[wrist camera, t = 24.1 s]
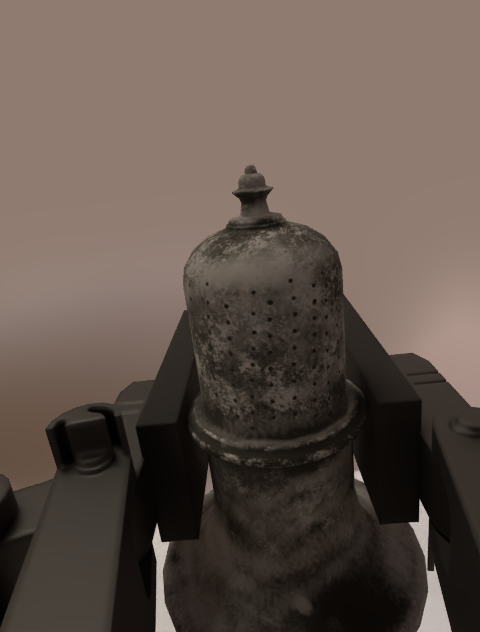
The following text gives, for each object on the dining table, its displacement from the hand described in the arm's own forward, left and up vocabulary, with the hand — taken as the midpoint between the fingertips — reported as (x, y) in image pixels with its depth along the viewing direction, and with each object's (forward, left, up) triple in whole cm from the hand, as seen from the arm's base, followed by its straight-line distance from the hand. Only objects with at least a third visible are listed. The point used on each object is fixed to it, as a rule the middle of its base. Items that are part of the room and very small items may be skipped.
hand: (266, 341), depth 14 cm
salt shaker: (0, +5, -7) cm, 9 cm away
